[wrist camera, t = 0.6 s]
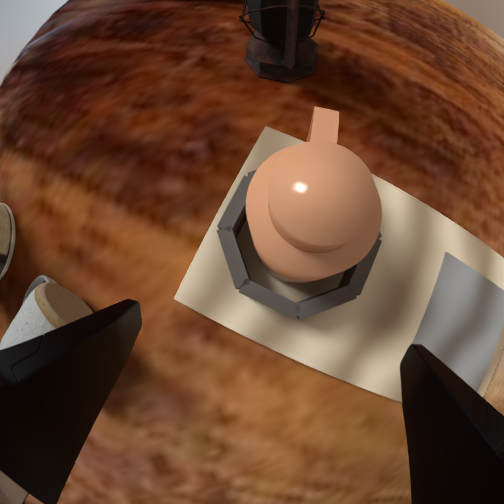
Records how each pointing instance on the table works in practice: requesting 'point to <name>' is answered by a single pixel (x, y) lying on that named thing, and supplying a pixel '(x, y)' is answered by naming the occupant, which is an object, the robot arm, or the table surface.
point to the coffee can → (6, 237)
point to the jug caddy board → (358, 292)
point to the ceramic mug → (44, 311)
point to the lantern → (282, 38)
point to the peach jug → (313, 207)
